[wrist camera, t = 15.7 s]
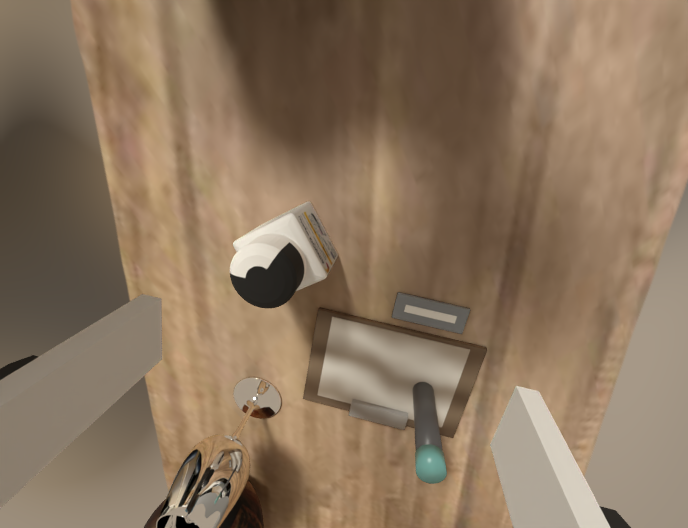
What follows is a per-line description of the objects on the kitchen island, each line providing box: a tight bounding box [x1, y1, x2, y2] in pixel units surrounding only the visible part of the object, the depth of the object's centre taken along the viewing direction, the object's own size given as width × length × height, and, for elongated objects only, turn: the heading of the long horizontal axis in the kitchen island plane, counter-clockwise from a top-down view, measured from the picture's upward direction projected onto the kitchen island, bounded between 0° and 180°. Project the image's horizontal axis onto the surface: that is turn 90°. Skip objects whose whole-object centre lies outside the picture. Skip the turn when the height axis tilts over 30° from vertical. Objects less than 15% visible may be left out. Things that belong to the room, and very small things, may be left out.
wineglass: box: [156, 377, 281, 528], centre depth 45 cm, size 8×8×20 cm
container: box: [230, 201, 338, 308], centre depth 38 cm, size 8×8×13 cm
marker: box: [412, 382, 447, 484], centre depth 42 cm, size 3×3×13 cm
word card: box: [392, 292, 470, 334], centre depth 45 cm, size 4×9×1 cm, turn 79°
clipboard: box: [303, 308, 487, 438], centre depth 48 cm, size 15×22×2 cm
